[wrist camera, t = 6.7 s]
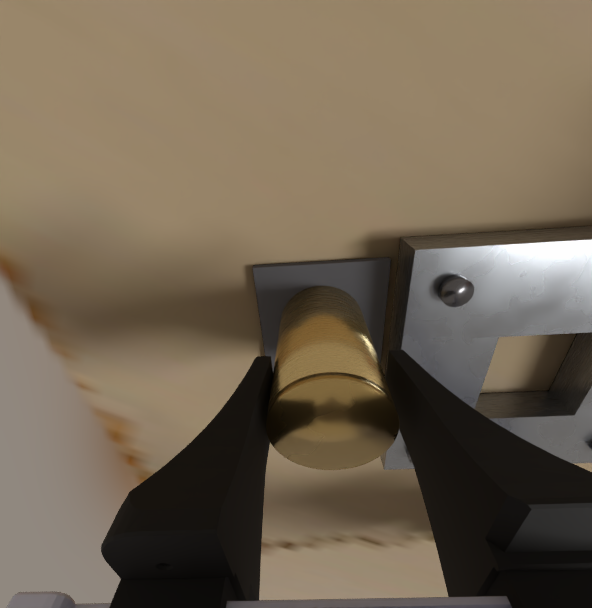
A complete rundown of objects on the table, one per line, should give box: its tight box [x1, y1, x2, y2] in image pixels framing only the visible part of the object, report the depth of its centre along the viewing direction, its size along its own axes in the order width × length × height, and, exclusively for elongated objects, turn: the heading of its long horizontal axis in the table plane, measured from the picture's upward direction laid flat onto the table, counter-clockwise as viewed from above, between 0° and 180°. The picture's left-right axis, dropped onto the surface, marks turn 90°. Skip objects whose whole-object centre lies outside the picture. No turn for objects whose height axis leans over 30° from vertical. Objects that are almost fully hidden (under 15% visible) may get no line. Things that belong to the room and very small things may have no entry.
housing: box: [380, 226, 592, 470], centre depth 17 cm, size 16×16×2 cm
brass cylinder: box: [266, 286, 399, 470], centre depth 13 cm, size 5×5×7 cm
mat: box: [253, 257, 391, 371], centre depth 16 cm, size 7×7×1 cm
